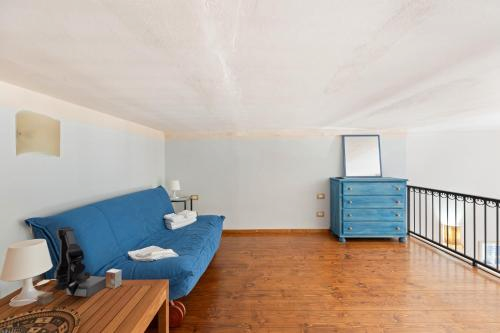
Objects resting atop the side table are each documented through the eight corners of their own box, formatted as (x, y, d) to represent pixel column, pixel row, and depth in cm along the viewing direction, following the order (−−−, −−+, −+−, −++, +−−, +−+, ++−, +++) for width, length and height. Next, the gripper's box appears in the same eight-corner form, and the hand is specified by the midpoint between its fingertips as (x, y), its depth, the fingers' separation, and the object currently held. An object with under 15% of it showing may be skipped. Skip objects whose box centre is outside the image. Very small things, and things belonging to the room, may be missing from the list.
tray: (66, 294, 149) (66, 287, 149) (85, 284, 163) (85, 278, 163) (85, 296, 146) (85, 289, 147) (103, 286, 160) (103, 279, 160)
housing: (65, 294, 150) (65, 284, 150) (85, 284, 164) (85, 275, 164) (88, 297, 147) (88, 287, 147) (106, 286, 161) (106, 277, 161)
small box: (105, 287, 160) (105, 271, 160) (112, 283, 165) (112, 268, 165) (114, 288, 157) (115, 272, 158) (121, 285, 163) (121, 269, 163)
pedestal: (37, 304, 138) (37, 295, 138) (45, 300, 143) (46, 291, 143) (44, 305, 137) (44, 296, 137) (52, 301, 142) (52, 292, 142)
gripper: (70, 276, 136) (69, 304, 135) (97, 265, 154) (96, 289, 154) (54, 274, 138) (53, 302, 138) (83, 263, 157) (82, 288, 156)
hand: (72, 295), depth 146 cm, fingers closed
